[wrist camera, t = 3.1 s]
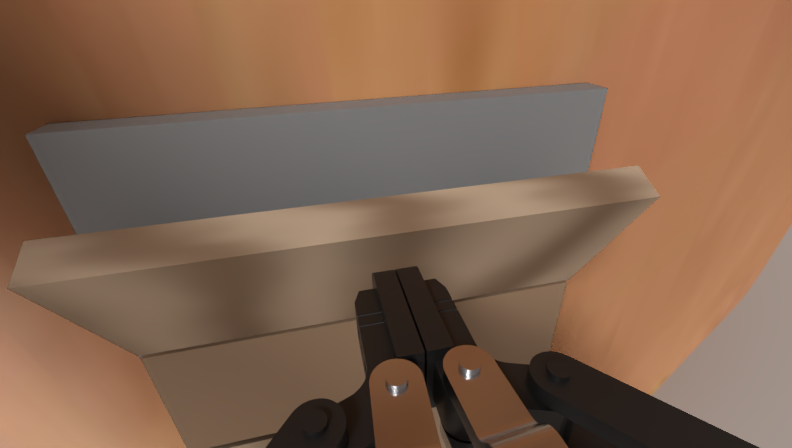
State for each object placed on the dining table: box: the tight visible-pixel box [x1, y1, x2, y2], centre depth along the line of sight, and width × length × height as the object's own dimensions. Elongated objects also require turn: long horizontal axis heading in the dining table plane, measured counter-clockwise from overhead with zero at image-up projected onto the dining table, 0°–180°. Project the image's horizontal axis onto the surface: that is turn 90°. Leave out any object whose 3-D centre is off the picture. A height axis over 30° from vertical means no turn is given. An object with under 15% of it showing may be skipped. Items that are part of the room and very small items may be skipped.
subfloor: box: [25, 83, 608, 448], centre depth 23 cm, size 24×28×3 cm
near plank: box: [8, 166, 660, 356], centre depth 17 cm, size 22×8×2 cm, turn 92°
